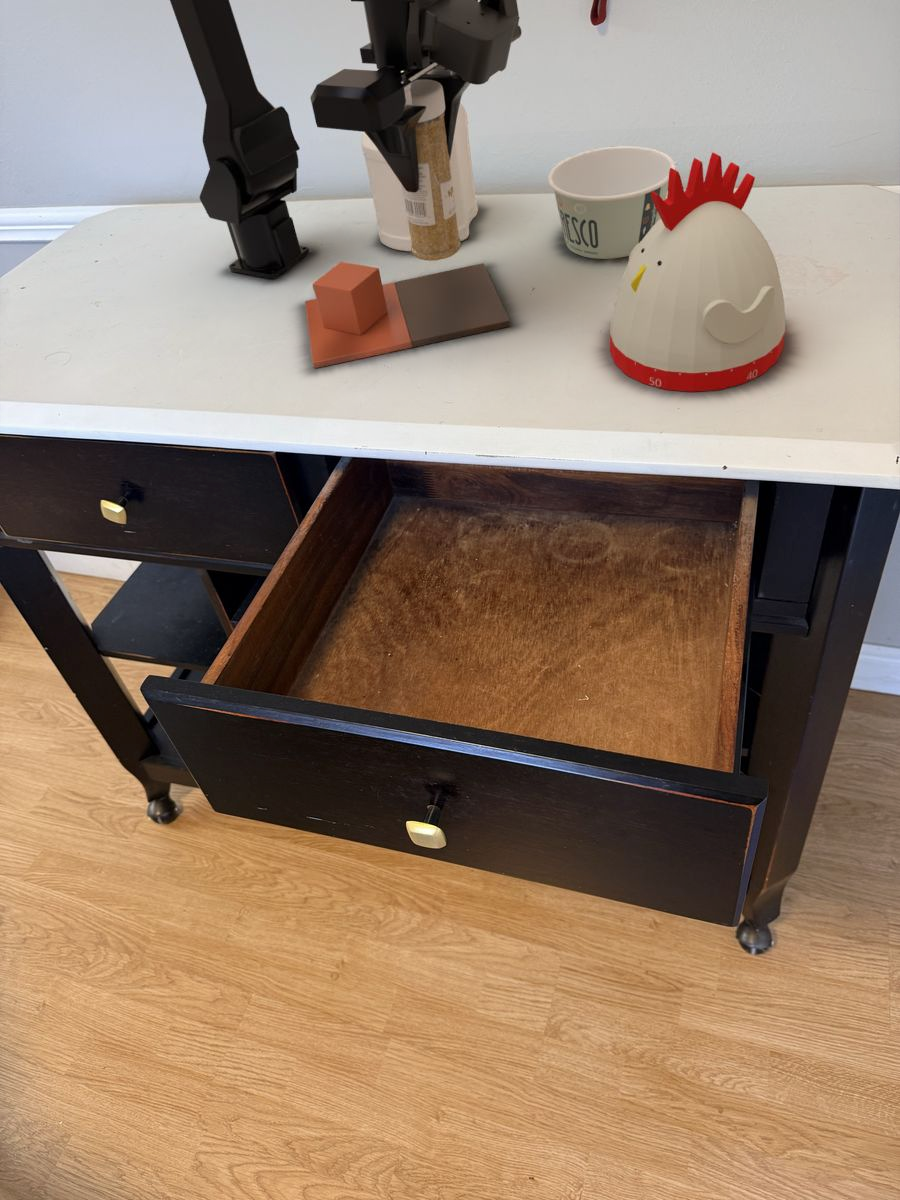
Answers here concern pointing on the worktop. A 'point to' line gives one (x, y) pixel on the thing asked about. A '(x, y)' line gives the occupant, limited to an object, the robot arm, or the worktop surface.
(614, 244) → the food container
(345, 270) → the terracotta block
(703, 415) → the worktop surface
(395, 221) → the jar
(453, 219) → the sprinkles bottle
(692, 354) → the kitchen timer
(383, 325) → the board
